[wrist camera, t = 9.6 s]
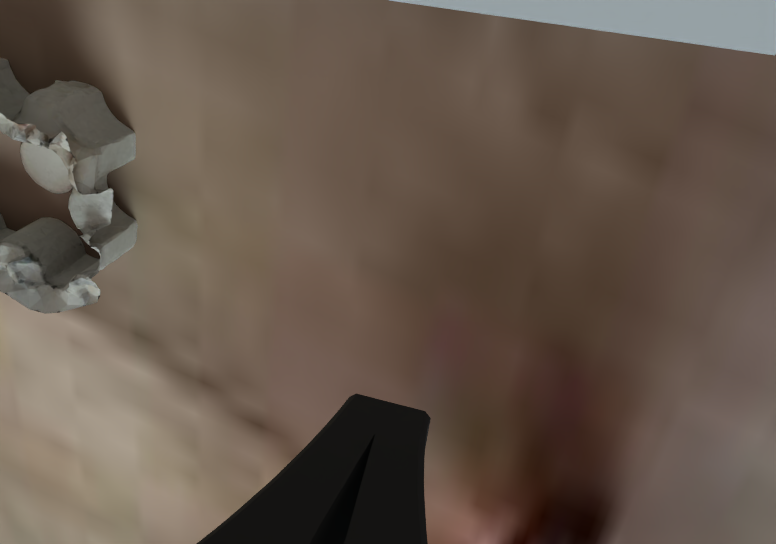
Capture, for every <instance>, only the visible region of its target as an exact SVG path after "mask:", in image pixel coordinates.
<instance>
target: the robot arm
mask: <svg viewBox="0 0 776 544" xmlns="http://www.w3.org/2000/svg"><path fill="white" fill-rule="evenodd" d="M429 424H430V417H429V416H428V414H427V413H426V412H425V411H422V410H418V409H414V408H410V407H406V406H402V405H398V404H395V403H391V402H387V401H383V400H379V399H375V398H371V397H367V396H363V395H359V394H355V395H353V396H351V397H349V398H348V400H347V401H346V402H345V403H344V405H343V406H342V407H341V408H340V410H339V411H338V412H337V413H336V414H335V415H334V417H333V418H332V419H331V420H330V421H329V422H328V423H327V425H326V426H325V427H324V428H323V429H322V430H321V431H320V432H319V433H318V434H317V435H316V436H315V437H314V439H313V440H312V441H311V442H310V443H309V444H308V445H307V446H306V447H305V448H304V449H303V450H302V451H301V452H300V453H299V454H298V455H297V456H296V457H295V458H294V459H293V460H292V461H291V462H290V463H289V464H288V465H287V466H286V467H285V468H284V469H283V470H282V471H281V472H280V473H279V474H278V475H277V476H276V477H274V478H273V479H272V480H271V481H270V482H269V483H268V484H267V485H266V486H265V487H264V488H262V489H261V490H260V491H259V492H258V493H257V494H256V495H254V496H253V497H252V498H251V499H250V500H249V501H248V502H247V503H245V504H244V505H243V506H242V507H241V508H240V509H239V510H237V511H236V512H235V513H234V514H233V515H232V516H231V517H229V518H228V519H227V520H226V521H224V522H223V523H222V524H221V525H220V526H218V527H217V528H216V529H215V530H213V531H212V532H211V533H210V534H208V535H207V536H206V537H205V538H203V539H202V540H201V541H199V542H198V543H197V544H428V543H427V533H426V518H425V502H424V455H425V446H426V441H427V435H428V429H429Z"/></svg>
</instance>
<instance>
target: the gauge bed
mask: <svg viewBox="0 0 776 544" xmlns="http://www.w3.org/2000/svg"><path fill="white" fill-rule="evenodd" d="M391 1H398V2H405V3H412V4H419V5H426V6H433V7H440V8H447V9H454V10H461V11H468V12H475V13H482V14H489V15H496V16H503V17H510V18H517V19H524V20H531V21H538V22H545V23H552V24H559V25H566V26H573V27H580V28H587V29H594V30H601V31H608V32H615V33H622V34H629V35H636V36H643V37H650V38H657V39H664V40H671V41H678V42H685V43H692V44H699V45H706V46H713V47H720V48H727V49H734V50H741V51H748V52H755V53H762V54H769V55H775V54H776V0H391Z"/></svg>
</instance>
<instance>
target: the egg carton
mask: <svg viewBox="0 0 776 544" xmlns="http://www.w3.org/2000/svg"><path fill="white" fill-rule="evenodd" d="M0 130H1V132H2V133H3V134H6V135H8V136H9V137H10V138H11V139H13V140H17V141H21V142H22V144H21V146H20V155H21V159H22V163H23V165H24V168H25V170H26V172H27V173H28V174H29V176H30V177H31V178H32V179H33V180H34V181H35V183H37V184H38V185H40V186H41V187H43V188H45V189H46V190H48V191H50V192H51V193H56V194H61V193H66V192H68V191H70V190H71V189H72V188H73V189H72V192H71V195H70V198H69V204H68V208H69V210H70V214H71V217H72V219H73V221H74V223H75V225H76V227H77V228H78V229H80V231H81V232H82V233H83V235H81V236H78V235H77V233H76V232H75V231H74V230H73V229H72V228H71V227H69V226H68V225H67V224H65V223H64V222H62V221H61V220H59V219H56V218H52V217H42V218H40V219H38V220H36V221H34V222H32V223H31V224H29V225H27V226H25V227H24V228H22V229H20V230H18V231H13V230H11V229H8V228H7V227H6V224H5V222H4V219H3V217H2V215H1V213H0V291H1V292H3V293H5V294H7V295H8V296H10V297H11V298H13V299H14V300H16V301H17V302H19V303H21V304H22V305H24V306H25V307H27V308H28V309H31V310H34V311H38V312H42V313H57V312H62V311H66V310H70V309H74V308H78V307H82V306H86V305H89V304H93V303H97V301H98V299H99V297H100V289H99V288H98V287H97V285H96V284H95V283H94V282H93V281H91V278H92V277H93V276H95V275H96V274H97V273H98V272H99V270H101V269H104V268H105V266H107V265H108V264H110V263H112V262H113V261H115V260H117V259H118V258H119V257H120V256H121V255H123V254H124V253H125V252H127V251H128V250H130V249H131V248H132V247H133V246H134V244H135V242H136V239H137V228H138V226H137V222H136V220H135V219H133V218H131V217H129V216H128V215H127V214H125V213H124V212H123V211H122V210H121V209H120V208H119V207H118V206H117V205H116V204H115V202H114V201H113V190H112V189H108V185H107V174H108V173H110V172H111V171H113V170H115V169H117V168H119V167H121V166H123V165H125V164H126V163H128V162H130V161H132V160H134V159H135V154H136V145H135V143H136V136H135V132H134V131H133V130H131V129H129V128H128V127H127V126H125V125H124V124H122V123H121V122H120V121H118V120H117V119H116V117H115V116H114V115H113V114H112V113H111V111H110V110H109V108H108V107H107V105H106V103H105V100H104V97H103V94H102V92H101V91H100V90H99V89H97V88H96V87H94V86H92V85H90V84H87V83H83V82H78V81H69V82H66V81H59V80H55V84H53V85H51V86H49V87H47V88H44V89H39V90H37V91H35V92H33V93H32V94H29V93H28V92H27V91H26V90H25V89H24V88H23V87H22V86H21V85H20V84H19V82H18V81H17V80H16V78H15V76H14V74H13V72H12V70H11V68H10V65H9V61H8V60H7V59H4V58H0ZM79 237H82V238H83V239H84V240H85V242H86V243H87V244H88V245H89V246H90V247H91V248H93V249H95V250H96V251H98V252H99V254H100V259H97V258H94V257H91V256H89V255H87V254H86V252H85V248H84V245H83V243H82V241H81V239H80V238H79Z"/></svg>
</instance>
